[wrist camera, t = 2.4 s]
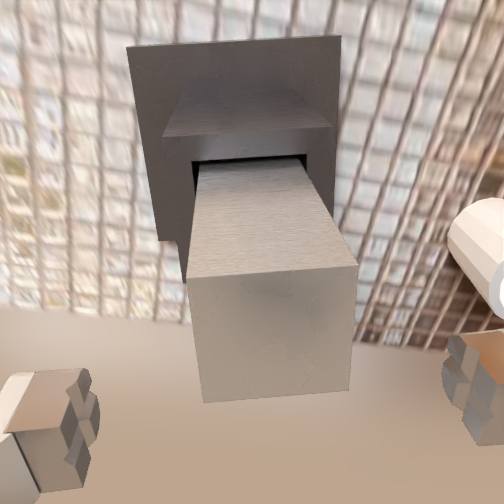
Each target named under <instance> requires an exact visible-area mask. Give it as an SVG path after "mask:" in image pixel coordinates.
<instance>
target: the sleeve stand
mask: <svg viewBox="0 0 504 504" xmlns="http://www.w3.org/2000/svg"><path fill="white" fill-rule="evenodd" d="M126 50H127V56H128V62H129V68H130V74H131V80H132V86H133V92H134V98H135V104H136V110H137V116H138V122H139V127H140V133H141V139H142V145H143V151H144V157H145V163H146V169H147V175H148V181H149V187H150V193H151V199H152V205H153V211H154V217H155V223H156V229H157V235H158V241H168V240H177V245H178V252H179V259H180V266H181V273H182V280H183V283H186V273H187V265H188V257H189V249H190V241H191V233H192V225H193V217H194V209H195V201H196V193H197V184H198V176H199V168H200V161H201V160H217V159H232V158H247V157H262V156H277V155H293V154H296V156H297V158H298V159H299V161H300V163H301V165H302V166H303V168H304V170H305V172H306V173H307V175H308V177H309V179H310V180H311V182H312V184H313V186H314V187H315V189H316V191H317V193H318V194H319V196H320V198H321V200H322V201H323V203H324V205H325V207H326V208H327V210H328V212H329V214H330V216H331V217H332V219H333V208H334V186H335V164H336V143H337V121H338V99H339V77H340V56H341V35H318V36H300V37H282V38H264V39H246V40H228V41H210V42H191V43H173V44H155V45H137V46H129V47H126Z"/></svg>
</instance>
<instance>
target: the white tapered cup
mask: <svg viewBox="0 0 504 504" xmlns="http://www.w3.org/2000/svg"><path fill="white" fill-rule="evenodd" d="M447 247H448V249H449V251H450V252H451V254H452V256H453V258H454V259H455V260H456V262H457V263H458V264H459V266H460V267H461V269H462V270H463V271H464V273H465V274H466V275H467V277H468V278H469V279H470V281H471V282H472V283H473V285H474V286H475V287H476V289H477V290H478V291H479V293H480V294H481V296H482V297H483V298H484V300H485V301H486V302H487V304H488V305H489V306H490V308H491V309H492V310H493V312H494V313H495V314H496V315H497V316H499V317H500V318H502V319H504V199H499V198H488V199H484V200H479V201H477V202H475V203H473V204H472V205H470V206H468V207H467V208H465V209H463V211H462V212H461V213H460V214H459V215H458V216H457V217H456V218H455V219H454V220H453V222H452V225H451V227H450V229H449V232H448V234H447Z"/></svg>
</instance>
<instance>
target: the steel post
mask: <svg viewBox="0 0 504 504" xmlns="http://www.w3.org/2000/svg"><path fill="white" fill-rule="evenodd" d="M358 269H359V265H358V263H357V261H356V259H355V258H354V256H353V254H352V252H351V251H350V249H349V247H348V245H347V244H346V242H345V240H344V238H343V237H342V235H341V233H340V231H339V230H338V228H337V226H336V224H335V223H334V221H333V219H332V217H331V216H330V214H329V212H328V210H327V208H326V207H325V205H324V203H323V201H322V200H321V198H320V196H319V194H318V193H317V191H316V189H315V187H314V186H313V184H312V182H311V180H310V179H309V177H308V175H307V173H306V172H305V170H304V168H303V166H302V165H301V163H300V161H299V159H298V158H297V156H296V154H293V155H277V156H262V157H247V158H232V159H217V160H201V161H200V168H199V176H198V184H197V193H196V201H195V209H194V217H193V225H192V233H191V241H190V249H189V257H188V265H187V273H186V283H187V290H188V297H189V304H190V311H191V318H192V325H193V333H194V339H195V347H196V353H197V361H198V368H199V375H200V382H201V389H202V396H203V403H211V402H222V401H233V400H245V399H257V398H268V397H280V396H291V395H303V394H314V393H326V392H337V391H348V390H349V380H350V367H351V354H352V343H353V331H354V318H355V306H356V294H357V281H358Z"/></svg>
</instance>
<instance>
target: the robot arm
mask: <svg viewBox="0 0 504 504" xmlns="http://www.w3.org/2000/svg"><path fill="white" fill-rule="evenodd" d="M447 349H448V350H449V352H450V353H451V356H450V357H449V358H448V359H447V360H446V361H445V362H444V363H443V368H442V381H443V387H444V390H445V392H446V395H447V397H448V398H449V400H450V402H451V403H452V404H453V405H454V406H456V407H457V408H459V409H460V410H462V411H464V413H463V418H462V421H463V423H464V424H465V426H466V428H467V429H468V431H469V432H470V434H471V436H472V437H473V439H474V440H475V442H476V444H477V445H478V446H488V445H500V444H501V445H502V444H504V329H497V330H490V331H480V332H470V333H459V334H452V336H451V337H450V338H449V341H448V345H447ZM91 382H92V380H91V377H90V374H89V371H88V370H87V369H85V368H77V369H63V370H49V371H38V372H26V373H15V374H13V375H12V376H10V377H9V378H8V380H7V382H6V384H5V385H4V387H3V389H2V391H1V392H0V504H34V503H35V502H36V501H37V500H38V498H39V497H40V493H47V492H54V491H61V490H69V489H77V488H83V485H84V482H85V478H86V475H87V471H88V467H89V464H90V460H91V457H90V454H89V450H88V447H89V446H90V445H91V444H92V443H93V442H94V441H95V440H96V438H97V434H98V430H99V422H100V410H99V403H98V399H97V396H96V395H95V394H93V393H92V392H91V391H89V389H90V385H91Z"/></svg>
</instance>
